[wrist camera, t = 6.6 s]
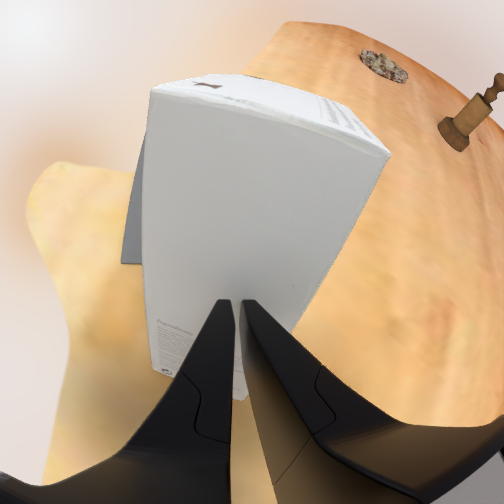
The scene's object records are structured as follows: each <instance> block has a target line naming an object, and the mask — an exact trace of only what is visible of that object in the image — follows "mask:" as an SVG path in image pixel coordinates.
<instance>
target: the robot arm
mask: <svg viewBox="0 0 504 504" xmlns="http://www.w3.org/2000/svg"><path fill="white" fill-rule="evenodd" d="M239 332H240V344H241V356H242V365H243V371H244V376H245V380H246V384H247V388H248V393H249V397H250V401H251V405H252V409H253V413H254V417H255V421H256V425H257V429H258V433H259V437H260V440H261V444H262V448H263V452H264V456H265V459H266V463H267V467H268V470H269V474H270V477H271V481H272V485H273V488H274V492H275V495H276V499H277V502H278V504H504V414H502V415H500V416H499V417H498V418H496V419H495V420H494V421H493V422H491V423H490V424H487V425H484V426H478V427H439V426H423V425H412V424H407V423H404V422H401V421H399V420H397V419H394V418H393V417H391V416H389V415H388V414H386V413H385V412H384V411H382V410H381V409H379V408H378V407H376V406H375V405H373V404H372V403H371V402H369V401H368V400H366V399H365V398H363V397H362V396H361V395H359V394H358V393H357V392H355V391H354V390H353V389H351V388H350V387H349V386H347V385H346V384H345V383H343V382H342V381H341V380H340V379H339V378H338V377H336V376H335V375H334V374H333V373H332V372H331V371H330V370H329V369H327V368H326V367H325V366H324V365H322V363H321V362H320V361H319V360H318V359H317V358H315V357H314V356H313V355H312V354H311V353H310V352H309V351H308V350H307V349H306V348H305V347H304V346H303V345H302V344H301V343H300V342H298V341H297V340H296V339H295V338H294V337H293V336H292V335H291V334H290V333H289V332H288V331H287V330H286V329H285V328H284V327H283V326H282V325H281V324H280V323H279V322H278V321H277V320H275V319H274V318H273V317H272V316H271V315H270V314H269V313H268V312H267V311H266V310H265V309H264V308H263V307H262V306H261V305H260V304H259V303H258V302H257V301H256V300H254V299H243V300H242V301H241V307H240V316H239ZM235 333H236V325H235V318H234V314H233V308H232V303H231V300H229V299H218V300H217V301H216V303H215V304H214V306H213V308H212V310H211V312H210V313H209V315H208V317H207V319H206V321H205V322H204V324H203V326H202V328H201V330H200V331H199V333H198V335H197V337H196V339H195V341H194V342H193V344H192V346H191V348H190V350H189V351H188V353H187V355H186V357H185V359H184V361H183V362H182V364H181V366H180V368H179V371H177V373H176V375H175V377H174V379H173V380H172V382H171V384H170V385H169V387H168V389H167V390H166V392H165V394H164V395H163V396H162V398H161V399H160V401H159V402H158V403H157V405H156V406H155V408H154V409H153V410H152V412H151V413H150V414H149V415H148V417H147V418H146V419H145V421H144V422H143V423H142V424H141V426H140V427H139V428H138V429H137V431H136V432H135V433H134V435H133V436H132V437H131V438H130V440H129V441H128V442H127V443H126V444H125V445H124V446H123V447H122V448H121V450H119V451H118V452H117V453H116V454H114V455H113V456H111V457H110V458H108V459H106V460H104V461H102V462H100V463H98V464H96V465H94V466H92V467H90V468H88V469H86V470H84V471H82V472H80V473H78V474H75V475H73V476H71V477H69V478H67V479H64V480H62V481H60V482H57V483H54V484H51V485H45V486H35V485H30V484H27V483H24V482H22V481H20V480H18V479H16V478H14V477H12V476H10V475H8V474H6V473H3V472H1V471H0V504H231V479H230V451H231V446H230V445H231V423H232V398H233V375H234V353H235Z"/></svg>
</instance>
